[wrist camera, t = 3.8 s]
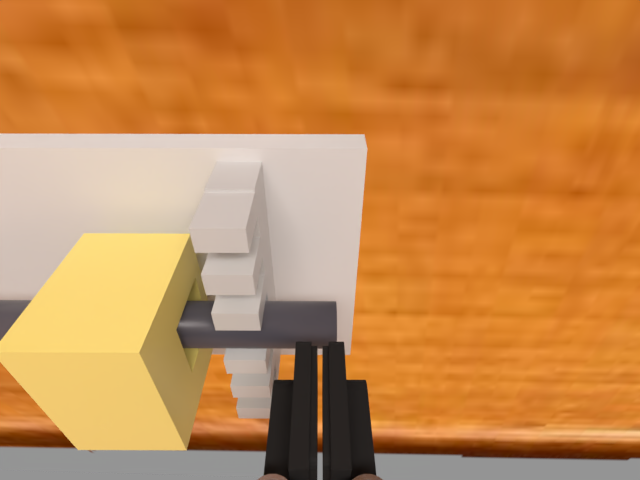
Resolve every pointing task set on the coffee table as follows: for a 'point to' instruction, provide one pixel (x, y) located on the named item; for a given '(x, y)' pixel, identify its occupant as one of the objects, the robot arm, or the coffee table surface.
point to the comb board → (201, 231)
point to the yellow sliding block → (114, 343)
